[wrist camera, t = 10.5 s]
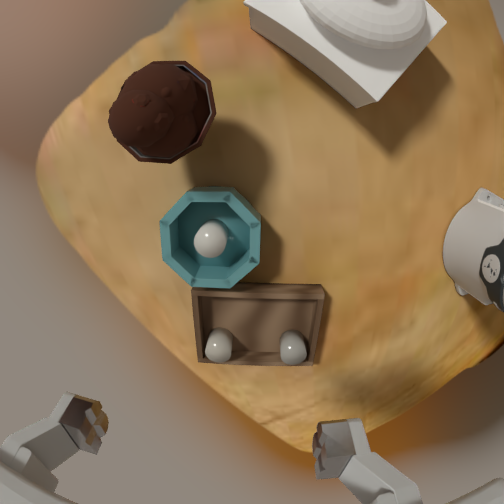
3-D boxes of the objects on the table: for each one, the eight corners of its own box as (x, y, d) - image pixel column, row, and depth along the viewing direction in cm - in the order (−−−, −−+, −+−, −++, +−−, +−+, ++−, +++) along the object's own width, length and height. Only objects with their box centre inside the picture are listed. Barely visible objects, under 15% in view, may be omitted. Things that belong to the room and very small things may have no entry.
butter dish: (418, 37, 28) (481, 5, 13) (352, 111, 33) (410, 93, 18) (325, -36, 24) (350, -97, 9) (247, 30, 29) (238, -33, 14)
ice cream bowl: (221, 162, 36) (197, 172, 22) (140, 155, 35) (78, 164, 21) (233, 82, 32) (216, 43, 18) (150, 79, 32) (93, 50, 18)
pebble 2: (233, 327, 44) (230, 343, 40) (233, 346, 45) (231, 363, 41) (208, 326, 44) (204, 342, 40) (209, 345, 45) (205, 361, 41)
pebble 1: (228, 218, 37) (225, 227, 34) (229, 246, 39) (226, 258, 35) (199, 218, 37) (193, 227, 34) (200, 246, 39) (194, 257, 35)
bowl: (261, 186, 37) (261, 192, 32) (258, 273, 41) (258, 289, 36) (169, 186, 37) (157, 192, 32) (174, 270, 41) (165, 285, 36)
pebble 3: (304, 329, 43) (308, 345, 40) (302, 348, 45) (305, 364, 41) (280, 329, 43) (281, 345, 40) (278, 348, 45) (279, 364, 41)
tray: (320, 284, 41) (324, 294, 38) (309, 353, 46) (312, 365, 43) (195, 280, 41) (191, 290, 39) (201, 350, 46) (198, 362, 43)
